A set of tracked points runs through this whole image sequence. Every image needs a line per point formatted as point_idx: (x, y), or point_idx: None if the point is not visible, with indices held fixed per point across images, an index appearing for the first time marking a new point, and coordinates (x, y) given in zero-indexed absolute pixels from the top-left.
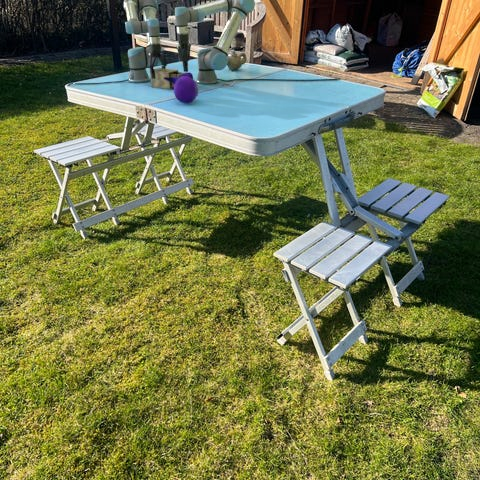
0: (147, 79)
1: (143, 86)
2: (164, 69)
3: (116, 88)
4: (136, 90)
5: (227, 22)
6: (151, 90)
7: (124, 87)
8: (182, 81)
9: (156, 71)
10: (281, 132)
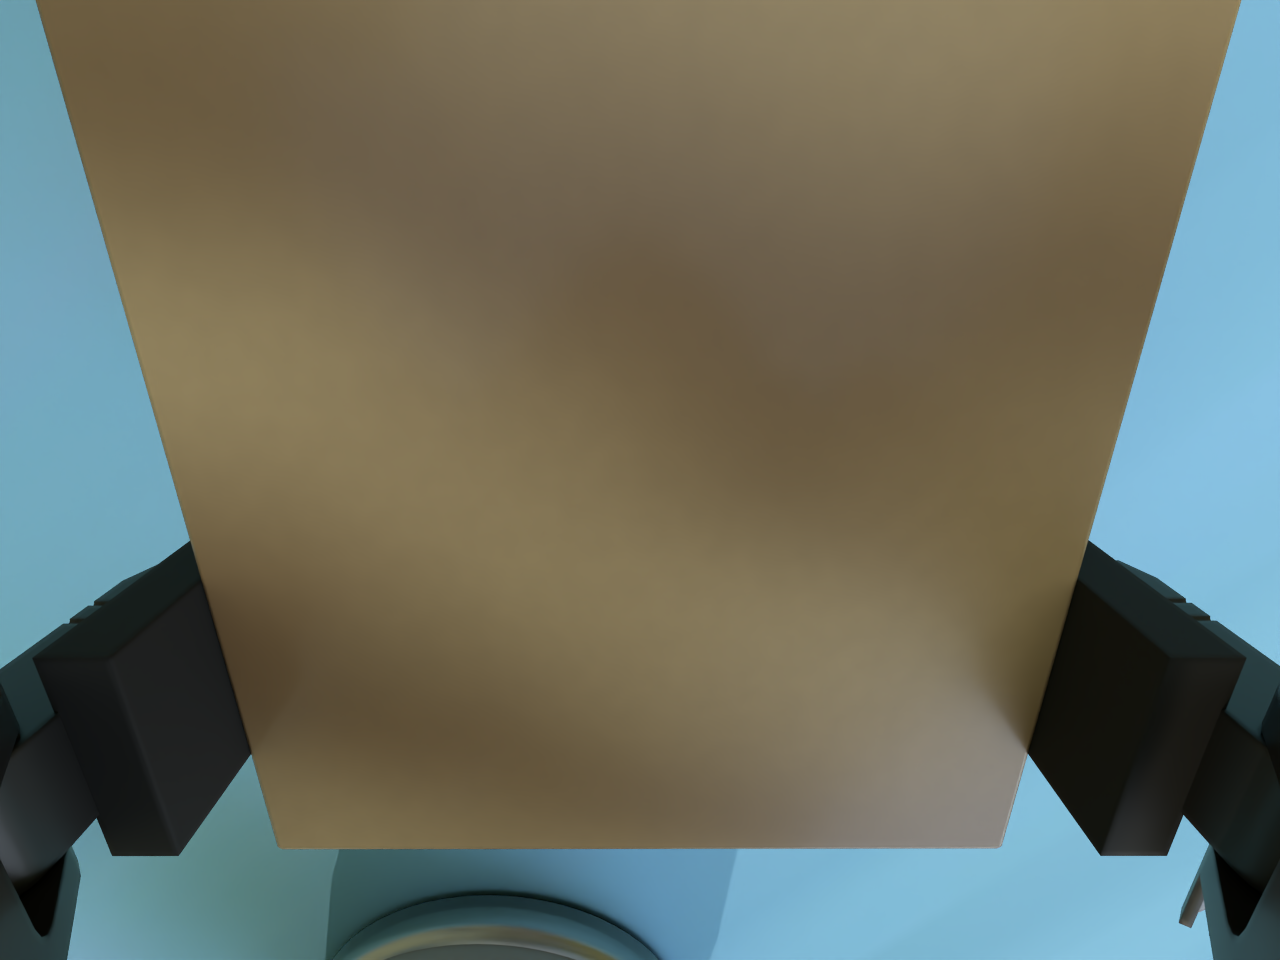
0: (446, 933)
1: None
2: (401, 378)
3: (1173, 943)
4: (1263, 554)
5: None
6: (1183, 228)
7: (1057, 898)
8: None
9: (1110, 416)
10: None
